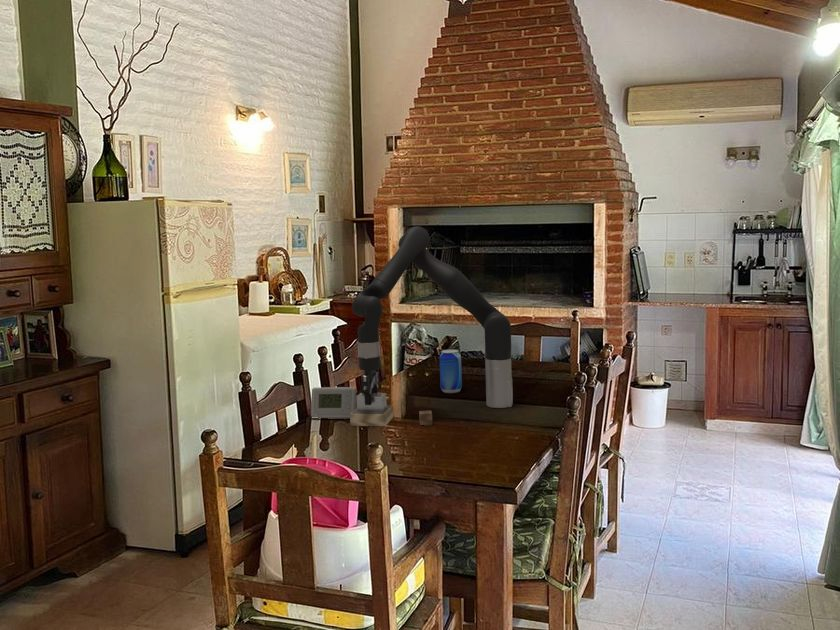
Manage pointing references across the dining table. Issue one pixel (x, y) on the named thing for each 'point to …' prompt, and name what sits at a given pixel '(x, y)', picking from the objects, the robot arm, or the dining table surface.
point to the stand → (371, 417)
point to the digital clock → (333, 402)
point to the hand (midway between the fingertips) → (371, 401)
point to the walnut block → (425, 417)
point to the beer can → (450, 371)
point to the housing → (377, 402)
